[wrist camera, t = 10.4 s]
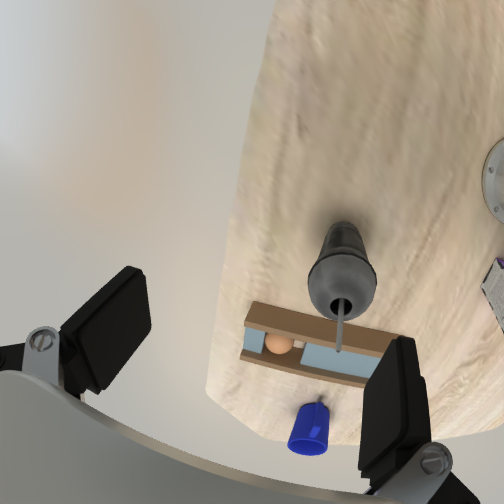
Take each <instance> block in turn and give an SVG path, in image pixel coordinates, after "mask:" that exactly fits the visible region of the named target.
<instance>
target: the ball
mask: <svg viewBox="0 0 504 504" xmlns="http://www.w3.org/2000/svg"><path fill="white" fill-rule="evenodd" d="M265 343H266V346H267V348H268V349H269V350H270V351H271V352H273V353H276V354H284V353H286V352H288V351H289V350H290V349H291V348H292V347H293V344H294V339H290V338H286V337H283V336H279V335H275V334H271V333H266V336H265Z"/></svg>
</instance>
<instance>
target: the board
mask: <svg viewBox="0 0 504 504" xmlns="http://www.w3.org/2000/svg"><path fill="white" fill-rule="evenodd" d="M337 324H338V322H337V321H332V320H328V319H324V318H320V317H315V316H311V315H307V314H303V313H299V312H295V311H290V310H286V309H282V308H278V307H274V306H271V305H267V304H263V303H259V302H255V301H253V304H252V306H251V308H250V310H249V312H248V314H247V316H246V319H245V321H244V326H245V327H246V329H245V336H244V344H243V350H242V352H241V354H240V360H244V361H247V362H251V363H254V364H258V365H262V366H265V367H269V368H273V369H277V370H281V371H285V372H289V373H293V374H297V375H301V376H305V377H310V378H314V379H319V380H323V381H328V382H333V383H338V384H343V385H348V386H353V387H359V388H365V385H366V383H367V382H368V380H369V378H370V377H371V375H372V373H373V372H374V370H375V368H376V367H377V365H378V363H379V362H380V360H381V358H382V356H383V355H384V353H385V351H386V349H387V348H388V346H389V344H390V342H391V340H392V339H397V337H398V336H403V335H398V334H393V333H388V332H383V331H378V330H373V329H369V328H364V327H359V326H355V325H350V324H346V323H343V335H342V349H341V353H336V352H335V349H336V337H337ZM266 333H271V334H275V335H279V336H283V337H286V338H290V339H295V340H299V341H303V342H305V345H304V348H303V349H299V348H295V347H292V348H291V349H290V350H289V351H288V352H286V353H284V354H276V353H273V352H271V351H270V350H269V349H268V348H267V346H266V343H265V336H266Z"/></svg>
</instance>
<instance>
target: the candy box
mask: <svg viewBox="0 0 504 504" xmlns="http://www.w3.org/2000/svg"><path fill="white" fill-rule="evenodd" d="M481 289H482V290H483V292H484V294H485V296H486V298H487V300H488V302H489V304H490V306H491V308H492V310H493V312H494V314H495V316H496V318H497V320H498V322H499V324H500V327H501V329H502V331H503V333H504V261H502V260H500V259H498V258H496V259H495V261H494V263H493V265H492V267H491V268H490V271H489V272H488V274H487V276H486V277H485V279H484V281H483V283H482V284H481Z"/></svg>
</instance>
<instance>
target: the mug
mask: <svg viewBox="0 0 504 504" xmlns="http://www.w3.org/2000/svg"><path fill="white" fill-rule="evenodd" d="M329 418H330V415H329V411H328V410H327V408H325V407H324V406H323V403H321V402H317V404H308V405H305V406H303V407H302V408H301V409H300V410H299V412H298V415H297V418H296V421H295V424H294V427H293V430H292V432H291V435H290V438H289V441H288V448H289V449H290V450H291V451H293V452H295V453H298V454H301V455H309V456H312V455H313V456H314V455H320V454H323V453H325V452H326V450H327V447H328V434H329Z"/></svg>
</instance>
